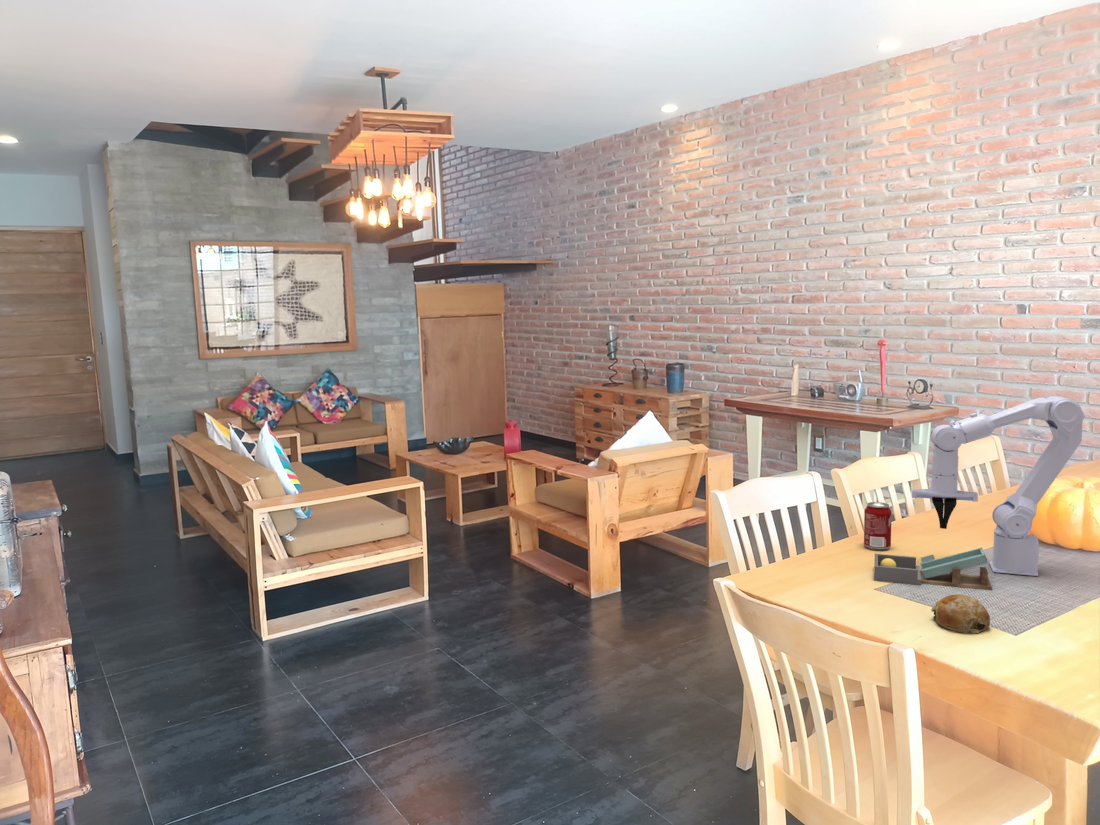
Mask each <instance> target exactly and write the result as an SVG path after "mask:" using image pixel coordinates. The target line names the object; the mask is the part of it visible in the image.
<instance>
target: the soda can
mask: <svg viewBox="0 0 1100 825" xmlns="http://www.w3.org/2000/svg"><path fill="white" fill-rule="evenodd" d="M863 516H864V520H863V522H864V523H863V532H864V533H863V546H865V547H867V548H868V549H870V550H873V551H887V549H889V548H891V546H892V516H893V514H892V510H891V508H890V504H889V503H887V502H880V501H879V502H878V501H870V502H867V505H866V507H865V508H864V514H863Z"/></svg>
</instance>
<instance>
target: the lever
mask: <svg viewBox="0 0 1100 825" xmlns="http://www.w3.org/2000/svg"><path fill="white" fill-rule="evenodd" d="M920 560H921V562H920V565H921V568H922V569H921V571H922V573H923V575H924V578H925V579H926V578H930V577H934V576H938V575H942V574H946V573H950V572H953V568H960V569H961V571H962V570H965V569H970V568H975V567H978V566H982V565H985V564H989V561H988V559H987V555H986V554H985V551H984V548H983V547H978V548H975V549H971V550H967V551H963V552H959V553H955V554H951V555H948V556H944V557H941V558H940V557H939V558H935V555H934V554H931V555H930V554H929V555H926V556H922V557H920Z"/></svg>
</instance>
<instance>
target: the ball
mask: <svg viewBox="0 0 1100 825" xmlns="http://www.w3.org/2000/svg"><path fill="white" fill-rule="evenodd" d="M880 566H887V567H896V563H895V561H894V560H892V559H890V558H886V559H884V560H882V561H881V564H880Z"/></svg>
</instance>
